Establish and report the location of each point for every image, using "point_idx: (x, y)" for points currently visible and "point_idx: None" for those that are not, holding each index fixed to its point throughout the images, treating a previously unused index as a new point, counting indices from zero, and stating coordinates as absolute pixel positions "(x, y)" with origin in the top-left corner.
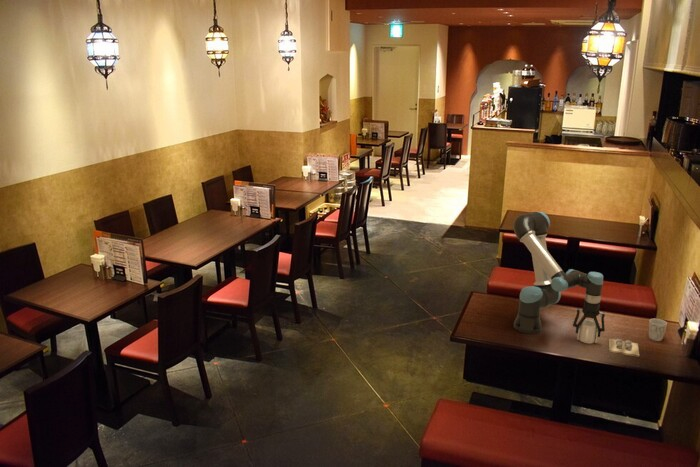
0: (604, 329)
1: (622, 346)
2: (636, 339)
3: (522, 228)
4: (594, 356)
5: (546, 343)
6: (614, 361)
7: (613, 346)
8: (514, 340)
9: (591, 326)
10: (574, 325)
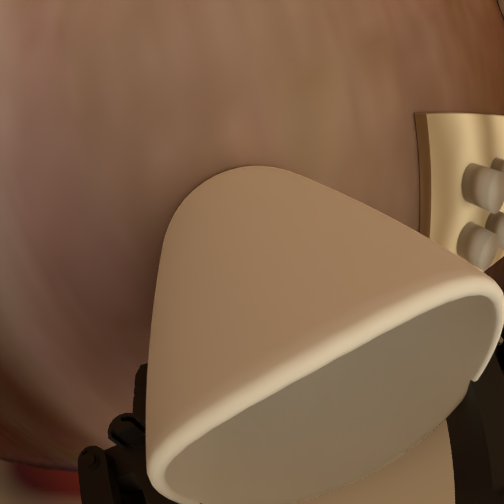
0: (495, 351)
1: (479, 208)
2: (491, 41)
3: None
4: None
5: (80, 433)
6: None
7: (446, 247)
8: (15, 443)
9: (381, 466)
10: (139, 489)
